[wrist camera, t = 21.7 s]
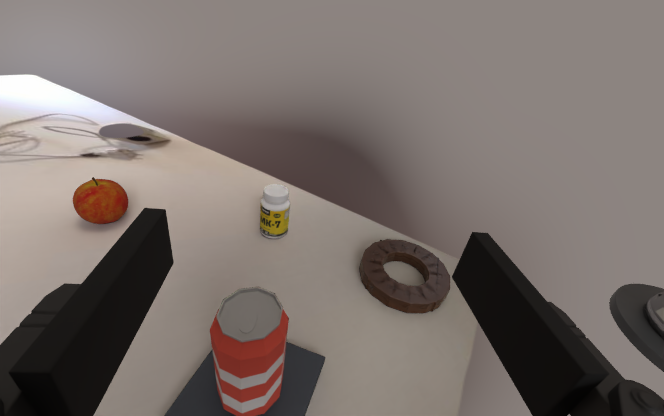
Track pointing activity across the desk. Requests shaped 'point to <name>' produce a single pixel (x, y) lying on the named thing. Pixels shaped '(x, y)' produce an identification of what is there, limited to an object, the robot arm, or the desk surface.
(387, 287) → the socket
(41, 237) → the desk surface
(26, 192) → the desk surface
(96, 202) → the fruit
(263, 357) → the beverage can
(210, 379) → the mat
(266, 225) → the supplement bottle
